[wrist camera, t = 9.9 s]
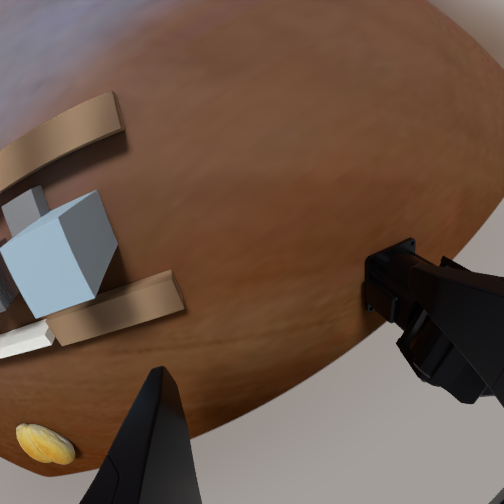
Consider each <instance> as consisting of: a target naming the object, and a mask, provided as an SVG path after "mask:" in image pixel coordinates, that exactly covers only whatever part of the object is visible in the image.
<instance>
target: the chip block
mask: <svg viewBox="0 0 504 504" xmlns="http://www.w3.org/2000/svg"><path fill="white" fill-rule="evenodd" d="M6 243H7V241H6V239H5V238H4V239H2V240H0V248H1V247H2V246H3V245H4V244H6ZM19 292H20V290H19V289H18V287H17V285H16V283H15V281H14V279H13V277H12V275H11V273H10V271H9V269H8V267H7V265H6V263H5V261H4V258H3V256H2V254H1V252H0V313H1V312H3V311H6V310H7V308H8V307H9V305H10V304H11V303H12V301H13V300H14V299H15V297H16V296H17V295H18V293H19Z"/></svg>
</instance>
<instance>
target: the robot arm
mask: <svg viewBox="0 0 504 504" xmlns="http://www.w3.org/2000/svg"><path fill="white" fill-rule="evenodd" d="M415 243H416V242H415V239H413V238H408V239H406V240H404V241H402V242H400V243H397V244H395V245H393V246H391V247H388V248H386V249H384V250H381V251H379V252H377V253H375V254H372V255H370V256H368V258H367V259H366V310H367V311H368V312H369V313H371V312H373V311H375V310H376V311H377V312H378V313H379V314H380V315H382V316H383V317H384V318H385V319H386V320H387V321H388V322H390V323H394V322H395V323H396V324H397V325H398V326H399V327H400V328H401V329H402V330H403V331H404V333H403V335H402V336H401V338H399V339H398V341H397V342H396V344H397V346H398V347H399V349H400V351H401V353H402V354H403V356H404V357H405V358H406V360H407V361H408V363H409V364H410V366H411V367H412V369H413V370H414V372H415V373H416V375H417V376H418V377H419V378H420V379H421V380H422V381H423V382H427V383H429V384H431V385H433V386H437V387H440V386H441V387H442V388H444V389H445V390H447V391H448V392H449V393H451V394H452V395H453V396H454V397H455V398H456V399H457V400H458V401H460V402H461V403H466V404H474V403H475V402H476V400H477V399H478V398H479V397H485V396H496V398H497V399H498V400H499V402H500V403H501V405H502V406H503V407H504V277H498V276H494V275H488V274H482V273H475V272H472V271H470V270H468V269H466V268H465V267H463V266H461V265H459V264H457V263H456V262H454V261H452V260H450V259H448V258H446V257H445V256H443V257H442V259H441V263H440V266H436V265H434V264H433V263H431V262H429V261H427V260H426V259H424V258H422V257H420V256H419V255H417V254H415ZM371 260H372V261H371ZM79 504H202V501H201V496H200V492H199V487H198V482H197V477H196V472H195V468H194V461H193V456H192V450H191V444H190V437H189V431H188V426H187V422H186V419H185V415H184V411H183V407H182V403H181V399H180V395H179V391H178V387H177V384H176V382H175V381H174V379H173V378H172V376H171V375H170V373H169V372H168V370H167V369H166V368H165V367H164V366H160V367H156V368H153V369H152V370H151V371H150V373H149V375H148V376H147V378H146V380H145V382H144V384H143V386H142V388H141V389H140V391H139V393H138V395H137V397H136V399H135V401H134V403H133V405H132V406H131V408H130V410H129V412H128V414H127V416H126V418H125V420H124V422H123V424H122V426H121V428H120V430H119V432H118V434H117V436H116V438H115V439H114V441H113V443H112V445H111V447H110V449H109V451H108V455H106V457H105V459H104V461H103V463H102V465H101V467H100V469H99V471H98V473H97V475H96V477H95V479H94V480H93V482H92V484H91V485H90V487H89V489H88V490H87V492H86V494H85V495H84V497H83V498H82V500H81V501H80V503H79ZM489 504H504V488H503V489H502V490H501V491H500V492H499V493H498V494H497V495H496V497H495V498H494V499H493V500H492V501H491V502H490V503H489Z"/></svg>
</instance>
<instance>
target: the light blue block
mask: <svg viewBox="0 0 504 504" xmlns="http://www.w3.org/2000/svg"><path fill="white" fill-rule="evenodd" d="M2 210H3V213H4V216H5V219H6V221H7V224H8V227H9V229H10V232H11V234H12V237H13V238H12V239H11V240H10V241H8V242H7V243H6V244H4V245H3V246H2V247H1V248H0V252H1V254H2V256H3V258H4V261H5V263H6V265H7V267H8V269H9V271H10V273H11V275H12V277H13V279H14V281H15V283H16V285H17V287H18V289H19V290H20V292H21V294H22V296H23V298H24V299H25V301H26V303H27V305H28V306H29V308H30V310H31V311H32V313H33V315H34V316H35V318H36V319H37V318H40V317H42V316H45V315H48V314H51V313H54V312H57V311H60V310H62V309H65V308H68V307H71V306H74V305H77V304H80V303H83V302H85V301H88V300H91V299H94V298H95V297H96V295H97V292H98V290H99V287H100V285H101V282H102V280H103V277H104V275H105V273H106V270H107V268H108V266H109V263H110V261H111V259H112V257H113V254H114V252H115V250H116V248H117V246H118V243H117V241H116V238H115V236H114V233H113V231H112V228H111V226H110V223H109V220H108V218H107V215H106V212H105V210H104V207H103V204H102V201H101V198H100V195H99V193H98V190H95V191H93V192H91V193H88V194H86V195H84V196H82V197H79V198H77V199H75V200H73V201H71V202H68V203H66V204H64V205H62V206H60V207H58V208H56V209H54V210H52V211H50V210H49V207H48V204H47V201H46V198H45V195H44V192H43V189H42V186H41V185H39V186H37V187H34V188H32V189H30V190H28V191H26V192H25V193H23V194H21V195H20V196H18V197H16V198H15V199H13V200H12V201H10V202H8V203H7V204H5V205H4V206H2Z"/></svg>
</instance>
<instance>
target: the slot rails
mask: <svg viewBox="0 0 504 504" xmlns="http://www.w3.org/2000/svg"><path fill="white" fill-rule="evenodd" d="M123 130H125V127H124V124H123V120H122V116H121V112H120V107H119V103H118V99H117V95H116V94H115V93H114V92H113V91H109V92H107V93H104V94H102V95H100V96H97V97H95V98H93V99H90V100H88V101H86V102H84V103H82V104H79V105H77V106H75V107H73V108H71V109H69V110H67V111H65V112H63V113H61V114H59V115H57V116H56V117H54V118H52V119H50V120H48V121H46V122H45V123H43V124H41V125H40V126H38V127H36V128H34V129H33V130H31V131H30V132H28V133H26V134H25V135H23V136H22V137H20V138H18V139H17V140H15V141H14V142H12V143H11V144H10V145H8V146H7V147H5V148H4V149H2V150H1V151H0V194H1V193H3V192H4V191H6V190H7V189H9V188H10V187H12V186H13V185H15V184H16V183H18V182H20V181H21V180H23V179H24V178H26V177H28V176H29V175H31V174H33V173H35V172H36V171H38V170H40V169H42V168H43V167H45V166H47V165H49V164H51V163H53V162H55V161H57V160H58V159H60V158H62V157H64V156H66V155H68V154H70V153H72V152H75V151H77V150H79V149H81V148H83V147H85V146H87V145H90V144H92V143H94V142H96V141H99V140H101V139H103V138H106V137H108V136H111V135H113V134H116V133H118V132H121V131H123ZM183 309H185V308H184V300H183V296H182V294H181V292H180V289H179V287H178V284H177V282H176V280H175V277H174V275H173V272H172V270H168V271H165V272H162V273H159V274H156V275H153V276H150V277H147V278H144V279H141V280H138V281H136V282H133V283H130V284H127V285H124V286H121V287H118V288H115V289H112V290H109V291H107V292H104V293H101V294H98V295H96V297H95V298H94V299H91V300H88V301H85V302H83V303H80V304H77V305H74V306H71V307H68V308H65V309H62V310H60V311H57V312H54V313H51V314H49V316H48V317H47V319H46V321H45V322H46V324H47V325H48V327H49V328H50V330H51V331H52V333H53V334H54V336H55V337H56V339H57V340H58V341H59V343H60V344H61V346H65V345H68V344H72V343H75V342H79V341H82V340H86V339H89V338H93V337H96V336H99V335H103V334H106V333H110V332H113V331H116V330H120V329H123V328H126V327H129V326H133V325H136V324H139V323H142V322H146V321H149V320H152V319H155V318H158V317H161V316H164V315H168V314H171V313H174V312H177V311H180V310H183Z"/></svg>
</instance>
